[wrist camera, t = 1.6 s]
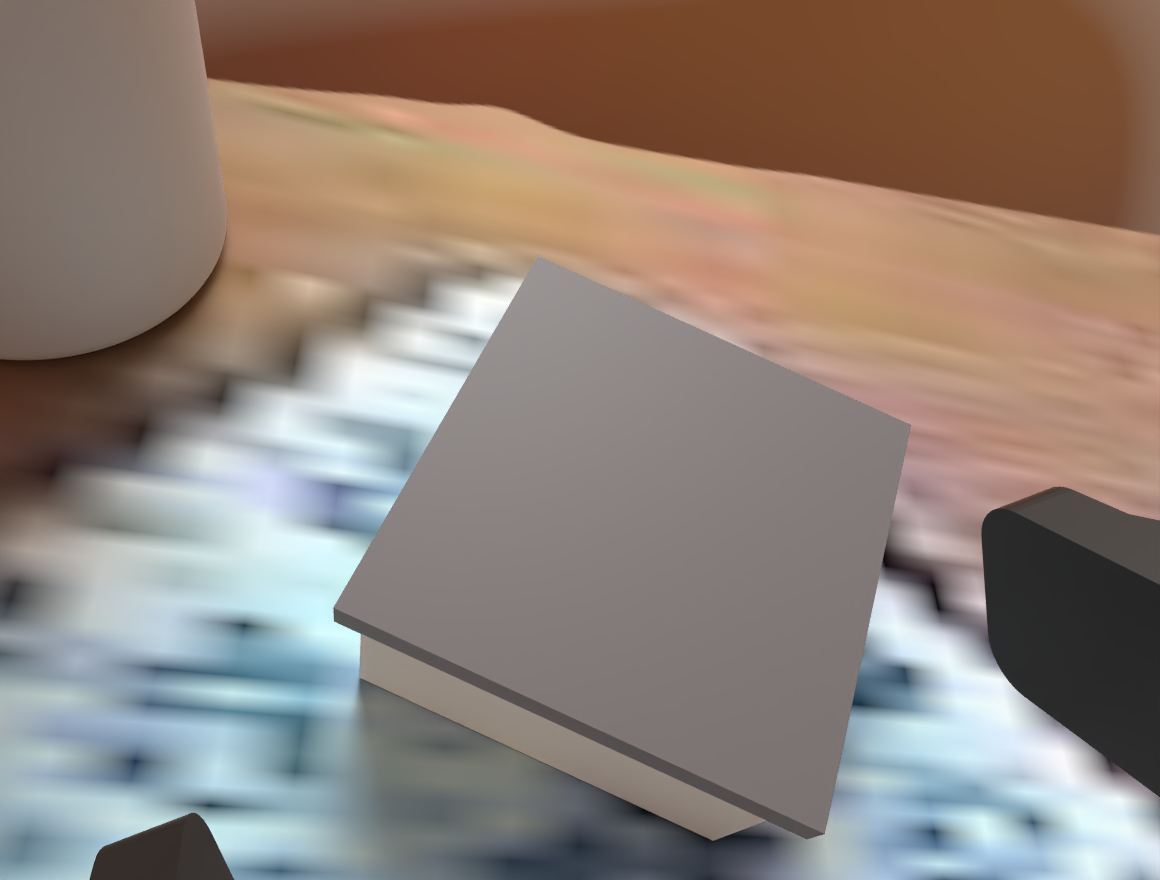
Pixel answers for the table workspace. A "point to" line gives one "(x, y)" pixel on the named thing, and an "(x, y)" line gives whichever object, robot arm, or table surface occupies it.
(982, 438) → the table surface
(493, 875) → the table surface
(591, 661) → the podium
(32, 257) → the cylinder vase
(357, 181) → the table surface
